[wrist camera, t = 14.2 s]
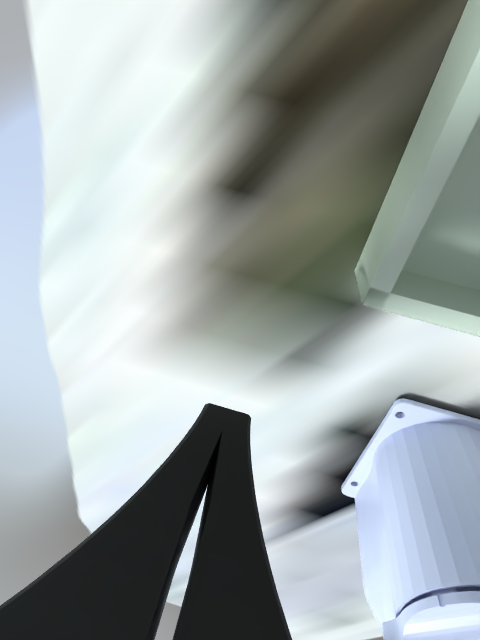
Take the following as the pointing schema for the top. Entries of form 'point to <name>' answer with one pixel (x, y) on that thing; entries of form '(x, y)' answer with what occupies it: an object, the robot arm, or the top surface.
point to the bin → (434, 203)
